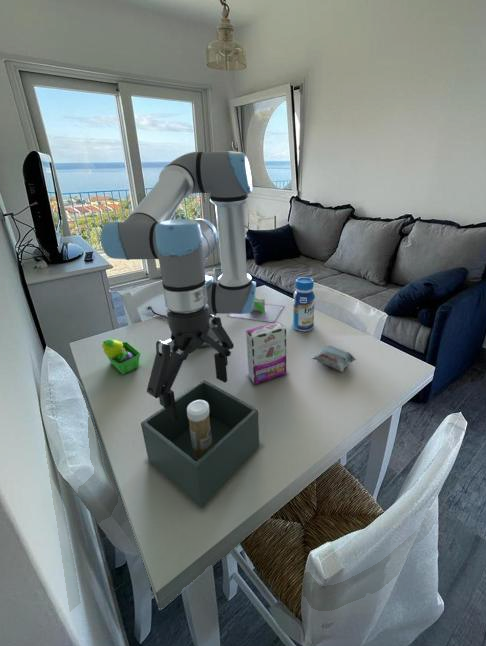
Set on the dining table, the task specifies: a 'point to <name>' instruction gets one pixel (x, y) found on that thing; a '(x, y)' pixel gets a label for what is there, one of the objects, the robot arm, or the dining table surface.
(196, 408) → the sprinkles bottle
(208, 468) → the grey storage bin
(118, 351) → the fruit basket
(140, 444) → the dining table surface
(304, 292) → the beverage bottle
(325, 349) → the packaged food
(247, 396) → the dining table surface
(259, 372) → the candy bar box
